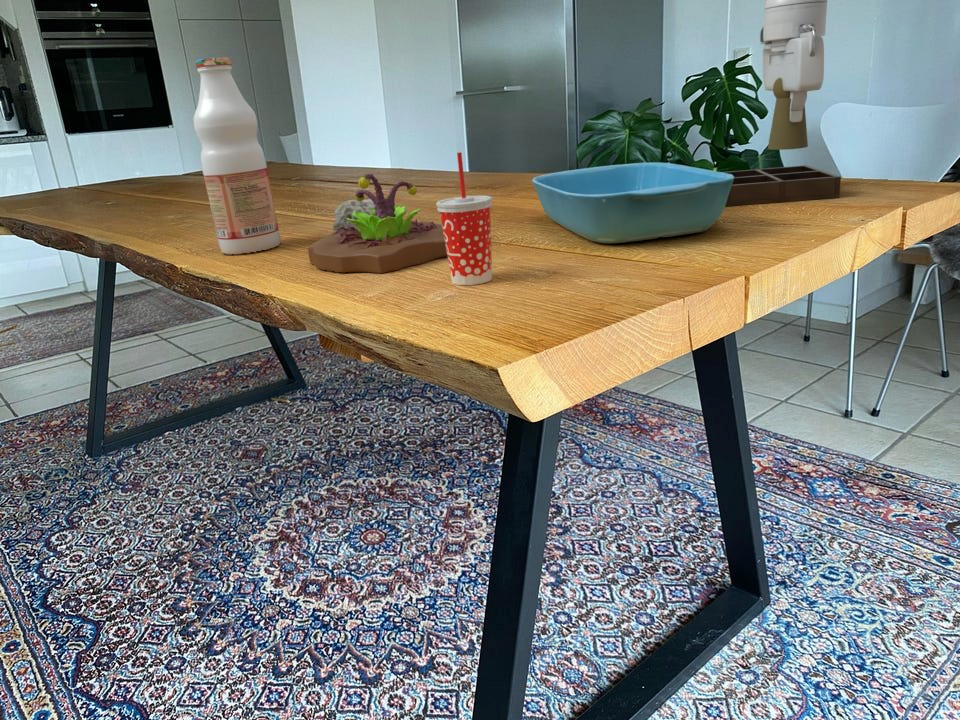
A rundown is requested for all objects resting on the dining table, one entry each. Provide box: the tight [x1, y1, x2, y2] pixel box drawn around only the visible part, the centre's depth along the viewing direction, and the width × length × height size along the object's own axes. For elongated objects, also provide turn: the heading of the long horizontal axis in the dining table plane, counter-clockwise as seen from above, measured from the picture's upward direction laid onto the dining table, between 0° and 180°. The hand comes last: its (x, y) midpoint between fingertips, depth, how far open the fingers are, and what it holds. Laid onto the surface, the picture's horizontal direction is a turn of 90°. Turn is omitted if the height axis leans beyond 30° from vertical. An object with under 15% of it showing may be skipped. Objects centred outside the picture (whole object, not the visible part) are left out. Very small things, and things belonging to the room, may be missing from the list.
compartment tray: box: [721, 164, 842, 207], centre depth 118 cm, size 16×16×3 cm
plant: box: [307, 173, 448, 274], centre depth 99 cm, size 20×20×11 cm
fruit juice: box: [192, 57, 281, 255], centre depth 112 cm, size 9×9×28 cm
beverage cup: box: [435, 151, 493, 286], centre depth 81 cm, size 6×6×14 cm
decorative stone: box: [332, 198, 375, 233], centre depth 125 cm, size 12×11×5 cm
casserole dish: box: [531, 161, 734, 244], centre depth 105 cm, size 37×22×7 cm, turn 9°
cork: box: [767, 78, 809, 151], centre depth 117 cm, size 6×6×11 cm
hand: (789, 121), depth 118 cm, fingers closed on cork, 4 cm apart
